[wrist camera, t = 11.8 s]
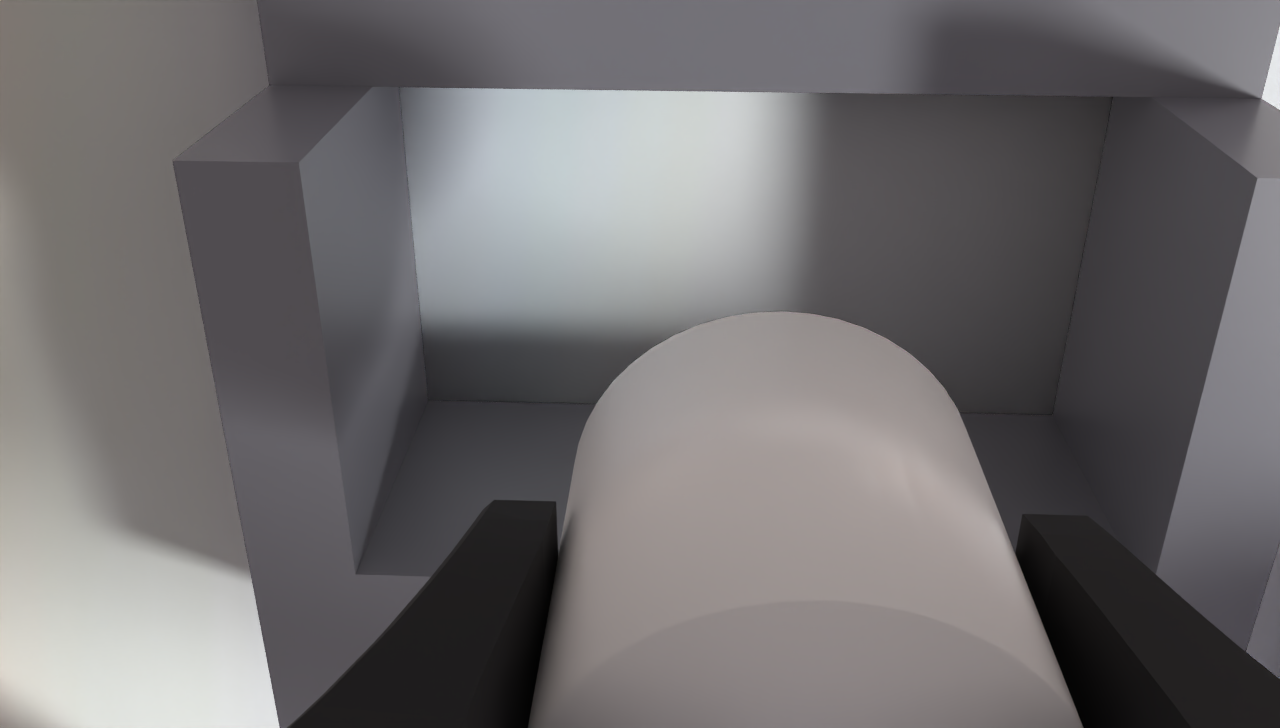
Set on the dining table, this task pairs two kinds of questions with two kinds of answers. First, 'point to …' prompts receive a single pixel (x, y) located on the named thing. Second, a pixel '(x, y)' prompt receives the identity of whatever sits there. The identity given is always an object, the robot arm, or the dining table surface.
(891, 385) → the plug
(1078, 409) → the socket block
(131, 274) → the dining table surface
